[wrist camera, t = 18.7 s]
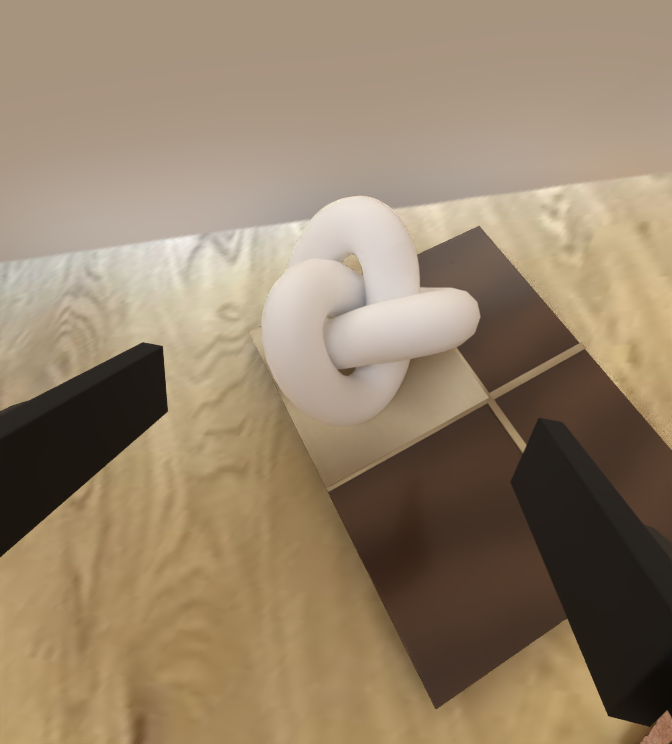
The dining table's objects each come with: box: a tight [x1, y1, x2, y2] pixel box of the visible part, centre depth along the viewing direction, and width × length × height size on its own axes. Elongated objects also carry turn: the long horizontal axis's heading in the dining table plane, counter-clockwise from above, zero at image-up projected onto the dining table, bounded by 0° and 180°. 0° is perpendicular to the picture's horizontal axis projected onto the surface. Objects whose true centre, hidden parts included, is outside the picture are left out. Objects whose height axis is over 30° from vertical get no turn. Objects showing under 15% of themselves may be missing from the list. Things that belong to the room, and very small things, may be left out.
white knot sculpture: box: [261, 196, 481, 426], centre depth 20 cm, size 11×12×9 cm
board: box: [249, 226, 672, 709], centre depth 24 cm, size 24×20×2 cm
